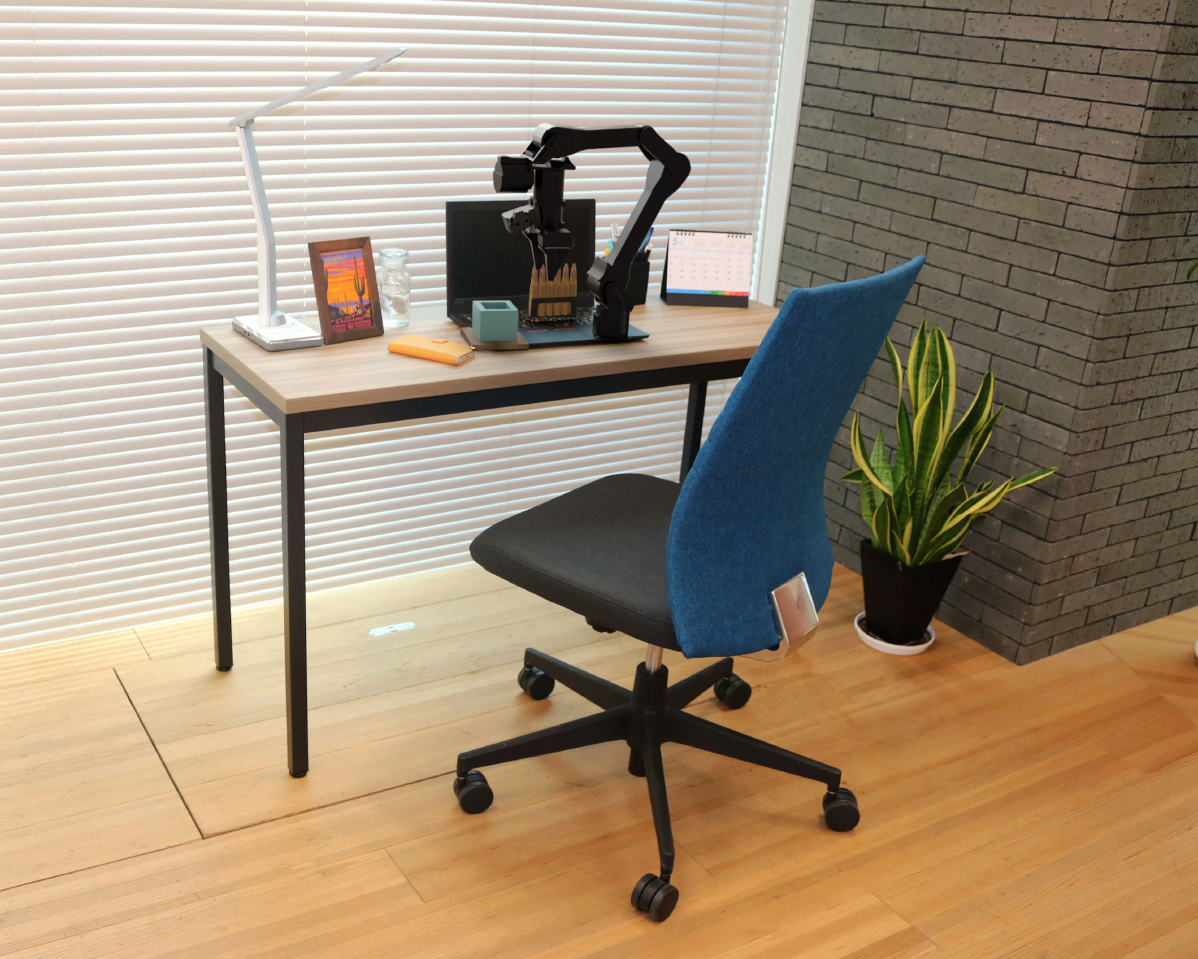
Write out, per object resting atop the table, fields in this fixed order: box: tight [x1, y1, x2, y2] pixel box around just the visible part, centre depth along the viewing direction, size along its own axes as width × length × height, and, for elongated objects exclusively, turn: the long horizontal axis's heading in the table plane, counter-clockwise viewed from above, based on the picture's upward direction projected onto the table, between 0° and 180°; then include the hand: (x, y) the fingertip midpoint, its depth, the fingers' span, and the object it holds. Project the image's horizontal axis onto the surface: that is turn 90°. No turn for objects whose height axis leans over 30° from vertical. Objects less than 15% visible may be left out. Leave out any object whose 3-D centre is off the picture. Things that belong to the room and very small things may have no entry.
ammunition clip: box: [526, 262, 578, 318], centre depth 240 cm, size 11×2×12 cm, turn 115°
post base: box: [460, 326, 530, 351], centre depth 224 cm, size 11×12×6 cm
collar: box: [471, 300, 519, 341], centre depth 223 cm, size 7×7×6 cm
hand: (544, 274), depth 223 cm, fingers open, 9 cm apart
